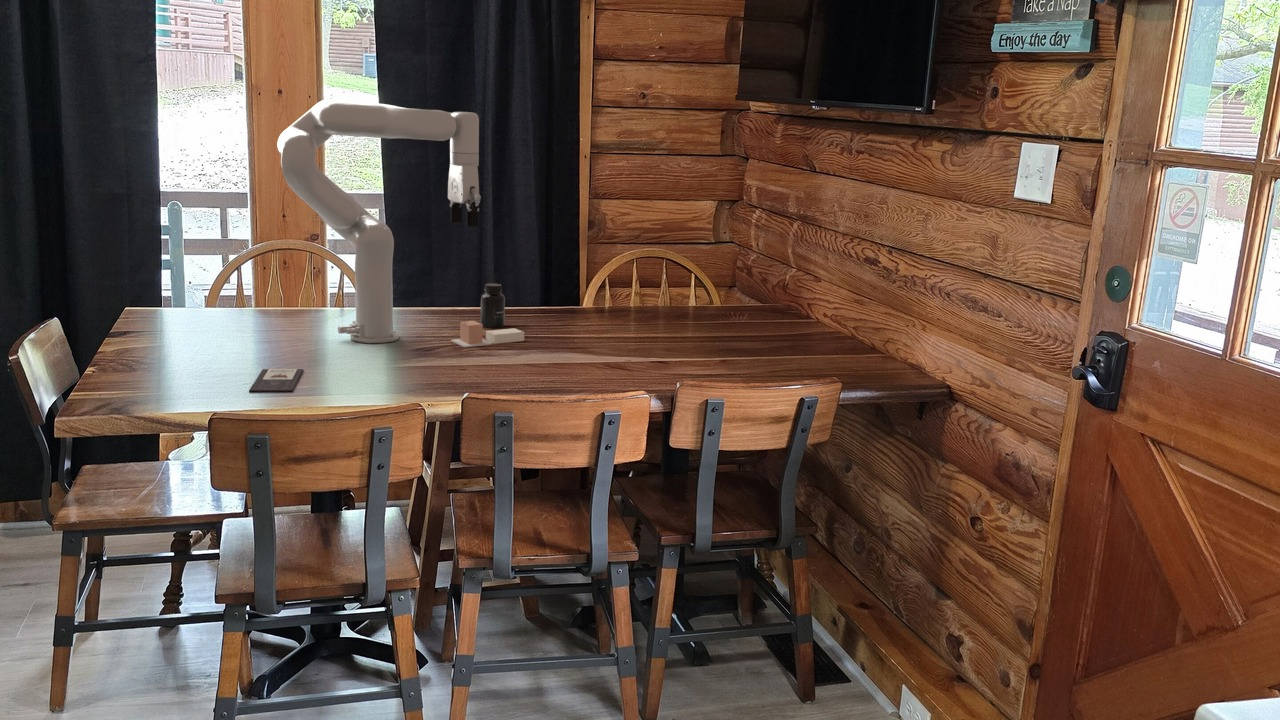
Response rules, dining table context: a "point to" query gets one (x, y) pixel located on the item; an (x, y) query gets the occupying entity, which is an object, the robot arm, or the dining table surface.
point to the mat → (470, 344)
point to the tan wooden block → (471, 332)
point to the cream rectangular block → (505, 335)
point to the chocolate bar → (276, 381)
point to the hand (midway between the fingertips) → (464, 224)
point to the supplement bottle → (492, 306)
